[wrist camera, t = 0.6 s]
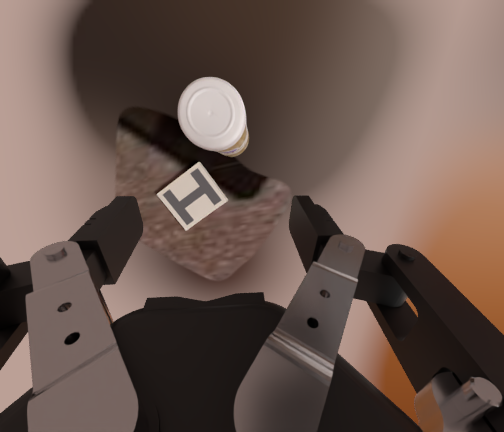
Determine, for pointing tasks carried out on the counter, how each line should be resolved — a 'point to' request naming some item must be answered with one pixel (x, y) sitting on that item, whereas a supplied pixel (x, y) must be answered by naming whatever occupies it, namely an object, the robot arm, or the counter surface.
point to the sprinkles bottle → (214, 116)
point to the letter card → (192, 196)
